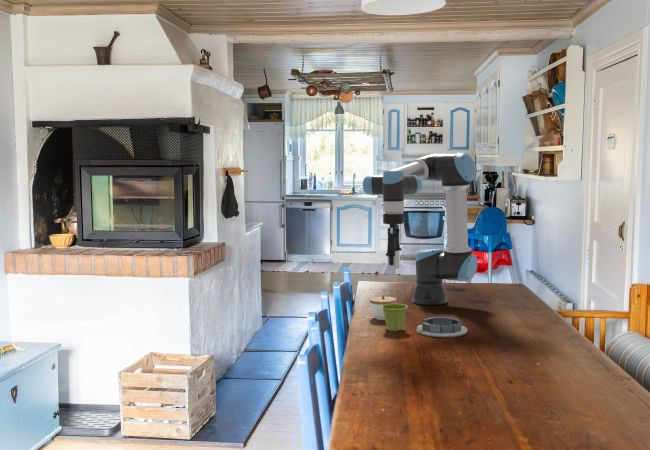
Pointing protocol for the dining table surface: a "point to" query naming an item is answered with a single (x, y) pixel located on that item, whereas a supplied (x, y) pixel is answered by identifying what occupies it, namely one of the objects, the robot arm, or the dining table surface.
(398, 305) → the plant pot
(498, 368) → the dining table surface
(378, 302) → the lidded jar
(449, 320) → the hub
